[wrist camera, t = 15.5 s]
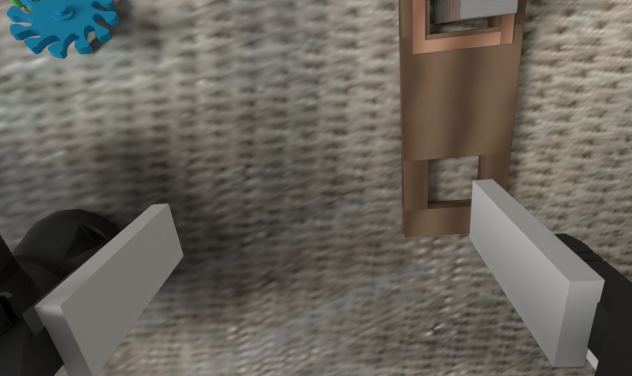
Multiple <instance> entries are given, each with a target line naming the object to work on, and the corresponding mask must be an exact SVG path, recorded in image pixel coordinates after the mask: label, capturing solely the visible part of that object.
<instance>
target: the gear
mask: <svg viewBox="0 0 632 376" xmlns="http://www.w3.org/2000/svg"><path fill="white" fill-rule="evenodd" d="M10 1H11V2H12V3H13V5H14V6H12V7H11V8H10V9H9V10H8V12H7V15H8V17H9V18H10V19H11V20H12V21H13V22H16V23H19V22H26V23H31V24H32V25H31V26H29V27H24V26H22V25H20V24H12V25H11V26H10V31H11V34H12V35H13V36H14V37H15V39H16V40H24V39H26V38H27V39H26V40H25V41H24V42H25V44H26V45H27V46H28V48H29V49H30V50H31V51H32V52H33V53H35V54H39V53H41V52H42V51H43V49H44V48H45V47H46V46H47V45H49V44H51V43H54V42H56V41H59V42H57V43H54V44H52V45H50V46H49V48H48V50H49V52H50V53H51V54H52V55H53V56H54V57H57V58H62V59H64V58H66V56H67V49H68V47H69V45H70V44H71V43H72V42H73V41H75V48H76V49H77V51H78V52H79V54H89V53H92V51H93V49H92V47H91V46H90V44H89V42H88V41H87V37H88V33H89V32H91V31H95V35H96V37H97V38H98V40H99V41H100V42H101V43H104V42H107V41H108V40H110V39H111V38H112V36H111V34H110V32H109V30H108V29H107V28H104V27H101V26H99V25H98V24H96V22H97V21H98V20H101V19H102V20H105V21H106V22H107V24H108V25H109V26H112V27H115V26H116V25H117V24H118V21H119V17H118V15H117V13H116V12H114V11H101V10H98V9H96V8H98V7H102V8H104V9H107V10H113V9H114V3H113V0H10ZM24 6H25V7H24ZM22 7H24V8H25V10H26V12H27V13H28V14H25V13H23V12H22V11H21V9H20V8H22ZM31 36H41V37H39V38H28V37H31Z"/></svg>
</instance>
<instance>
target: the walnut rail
mask: <svg viewBox="0 0 632 376" xmlns="http://www.w3.org/2000/svg"><path fill="white" fill-rule="evenodd" d="M525 8H526V0H518V4H517V12H516V13H510V14H504V15H498V16H492V17H488V28H482V29H473V30H464V31H456V32H447V33H439V34H430V0H399V45H400V99H401V153H402V207H403V231H404V234H405V237H415V236H431V235H447V234H464V233H470V220H471V204H472V199H468V200H454V201H440V202H428V159H440V158H452V157H465V156H477V155H479V165H478V180H487V179H493V180H494V181H495V182H496V183H497V184H498V185H500V186H501V187H502V188H503V189H504V190H505V191H506V192H507V185H508V175H509V165H510V155H511V146H512V136H513V126H514V116H515V106H516V96H517V86H518V77H519V67H520V57H521V47H522V37H523V27H524V17H525ZM429 34H430V35H429Z"/></svg>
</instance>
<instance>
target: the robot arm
mask: <svg viewBox="0 0 632 376" xmlns="http://www.w3.org/2000/svg"><path fill="white" fill-rule="evenodd" d="M469 239H470V241H471V242H472V244H473V245H474V247H475V248H476V250H477V251H478V253H479V254H480V256H481V258H482V259H483V261H484V262H485V264H486V265H487V267H488V268H489V270H490V271H491V273H492V274H493V276H494V277H495V279H496V280H497V282H498V283H499V285H500V286H501V288H502V290H503V291H504V293H505V294H506V296H507V297H508V299H509V300H510V302H511V303H512V305H513V306H514V308H515V309H516V311H517V312H518V314H519V315H520V317H521V318H522V320H523V322H524V323H525V325H526V326H527V328H528V329H529V331H530V332H531V334H532V335H533V337H534V338H535V340H536V341H537V343H538V344H539V346H540V347H541V349H542V350H543V352H544V354H545V355H546V357H547V358H548V360H549V361H550V363H551V364H552V366H553V367H581V366H584V365H585V361H586V357H587V353H588V349H589V350H590V351H591V352H592V354H593V355H594V356H595V357H596V359H597V360H598V365H597V368H596V372H595V376H632V283H631V282H630V281H629V280H628V279H627V278H625V277H624V276H623V275H622V274H621V273H619V272H618V271H617V270H616V269H615V268H613V267H612V266H611V265H610V264H608V263H607V262H606V261H603V259H602V258H601V257H600V256H599V255H598V254H596V253H594V252H593V250H591V249H590V248H589V247H588V246H587V245H585V244H584V243H583V242H582V241H580V240H578V239H575V238H573V237H571V236H569V235H567V234H553V233H552V232H551V231H550V230H548V229H547V228H546V227H545V226H544V225H543V224H542V223H541V222H540V221H538V220H537V219H536V218H535V217H534V216H533V215H532V214H531V213H530V212H528V211H527V210H526V209H525V208H524V207H523V206H522V205H521V204H520V203H518V202H517V201H516V200H515V199H514V198H513V197H512V196H511V195H510V194H508V193H507V192H506V191H505V190H504V189H503V188H502V187H501V186H500V185H498V184H497V183H496V182H495V181H494V180H493V179H487V180H474V181H473V188H472V204H471V220H470V236H469ZM182 258H183V252H182V249H181V245H180V242H179V238H178V235H177V232H176V228H175V225H174V221H173V218H172V214H171V211H170V208H169V204H156V205H151V206H150V207H149V208H148V209H147V210H145V211H144V212H143V213H142V214H141V215H140V216H139V217H137V218H136V219H135V220H134V221H133V222H132V223H130V224H129V225H128V226H127V227H126V228H125V229H124V230H122V231H121V232H120V231H119V230H118V229H117V228H116V227H114V226H113V225H112V224H110V223H109V222H108V221H106V220H104V219H102V218H100V217H98V216H96V215H94V214H91V213H88V212H84V211H78V210H64V211H59V212H56V213H53V214H51V215H49V216H47V217H46V218H44V219H42V220H41V221H39V222H38V223H36V224H35V225H34V226H33V227H32V228H31V229H30V230H29V231H28V232H27V234H26V236H25V237H24V238H23V239H22V240H21V242H20V243H19V244H18V245H17V247H16V248H15V249H14V251H13V252H12V253H11V251H10V250H9V248H8V246H7V245H6V243H5V242H4V240H3V238H2V237H1V235H0V376H54V375H55V374H56V372H57V371H58V370H59V369H60V368H61V367H62V365H64V367H65V369H66V371H67V373H68V375H69V376H96V375H97V374H98V372H99V371H100V370H101V368H102V367H103V366H104V364H105V363H106V362H107V360H108V359H109V357H110V356H111V355H112V353H113V352H114V351H115V349H116V348H117V346H118V345H119V344H120V342H121V341H122V340H123V338H124V337H125V336H126V334H127V333H128V331H129V330H130V329H131V327H132V326H133V325H134V323H135V322H136V320H137V319H138V318H139V316H140V315H141V314H142V312H143V311H144V310H145V308H146V307H147V305H148V304H149V303H150V301H151V300H152V299H153V297H154V296H155V294H156V293H157V292H158V290H159V289H160V288H161V286H162V285H163V284H164V282H165V281H166V279H167V278H168V277H169V275H170V274H171V273H172V271H173V270H174V268H175V267H176V266H177V264H178V263H179V262H180V260H181V259H182Z"/></svg>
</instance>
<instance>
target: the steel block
mask: <svg viewBox="0 0 632 376" xmlns="http://www.w3.org/2000/svg"><path fill="white" fill-rule="evenodd" d="M517 4H518V0H434V24H439V23H447V22H456V21H464V20H472V19H480V18H486V17H492V16H498V15H504V14H510V13H516V12H517Z"/></svg>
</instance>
